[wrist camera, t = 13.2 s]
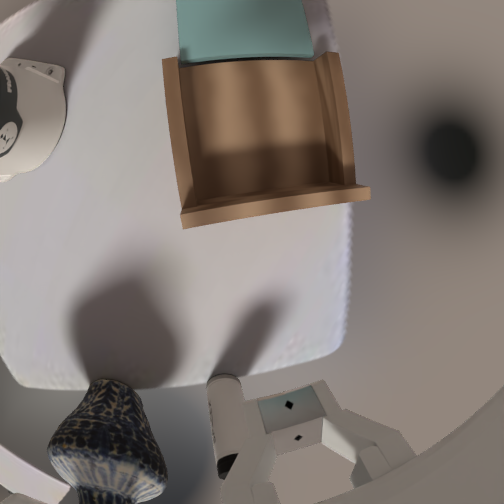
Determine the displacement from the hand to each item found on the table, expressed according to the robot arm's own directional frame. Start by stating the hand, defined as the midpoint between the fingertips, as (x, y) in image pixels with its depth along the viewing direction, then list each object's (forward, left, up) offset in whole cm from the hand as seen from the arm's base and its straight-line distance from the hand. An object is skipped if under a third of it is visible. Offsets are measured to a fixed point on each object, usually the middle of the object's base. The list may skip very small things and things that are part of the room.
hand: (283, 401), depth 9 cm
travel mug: (+17, -23, -29) cm, 41 cm away
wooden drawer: (-4, +13, -29) cm, 32 cm away
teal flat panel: (-10, +19, -26) cm, 34 cm away
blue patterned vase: (+2, -38, -29) cm, 48 cm away
